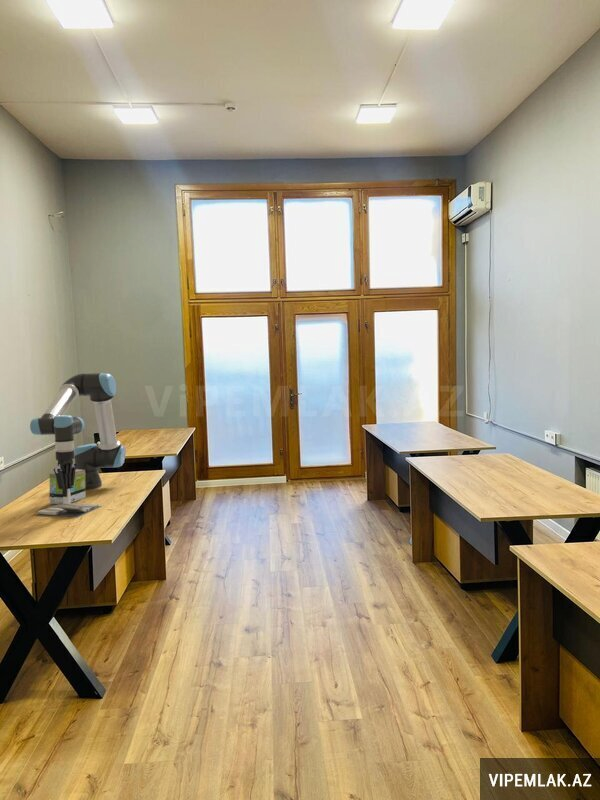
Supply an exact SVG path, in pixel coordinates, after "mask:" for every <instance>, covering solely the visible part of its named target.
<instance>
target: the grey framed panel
mask: <svg viewBox="0 0 600 800" xmlns="http://www.w3.org/2000/svg"><path fill="white" fill-rule="evenodd" d="M102 507H103V506H102V505H98V508H95V509H93V510H91V511H89V512H75V511H66V512H63V513H60V514H57V515H48V514H37V513H36V514H35V516H42V517H59V518H61V517H62V518H74V519H75V518H77V519H78V518H80V517H82V516H85V515H86V514H89V513H92V512H93V511H96V510H98V509H99V508H102Z"/></svg>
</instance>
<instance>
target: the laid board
mask: <svg viewBox="0 0 600 800" xmlns="http://www.w3.org/2000/svg"><path fill="white" fill-rule="evenodd" d="M58 505H77V506H79V507H82V508H84V509H87V511H86V512H89V511H91V510H93V509H95V508H98V506H99V504H95V503H94V504H93V503H74V502H71V503H70V504H63V503H59V504H53V505H52V506H50V507H51V508H58V507H57V506H58ZM98 509H99V508H98ZM93 511H94V510H93ZM91 512H92V511H91ZM89 513H90V512H89Z"/></svg>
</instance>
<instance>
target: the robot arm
mask: <svg viewBox="0 0 600 800" xmlns="http://www.w3.org/2000/svg"><path fill="white" fill-rule="evenodd" d="M116 393H117V383H116V380H115V377H114V376H113V375H112V374H111V373H104V372H101V373H78V374H75V375H74V376H72V377H70V378H68V379H66V380H65V381H64V382H63V383H62V384H61V386H60V387H59V392H58V394H56V396H55V398H54V399H53V400H52V402H51V403H50V404H49V406H48V407H47V409H46V410H45V412H44V413H43V414H42V415H41V417H36V418H35V417H34V418H33V419H31V421H30V425H29V429H30V432H31V434H32V435H36V436H44V435H45V436H47V435H49V436H50V435H54V442H55V445H54V448H55V460H56V461H57V463H56V464H57V467H55V468H53V473H55V474H56V479H57V484H58V488H59V489H62V493H63V504H70V503H72V502H71V488H73V487H72V486H74V480H75V470H76V469H79V470H85V490H92V489H96V488H100V487H102V486H103V481H102V479H101V476H100V473H99V468H113V469H114V468H120V467H122V466H123V464H124V463H125V459H126V453H127V451H126V447H125V445H122V444H121V441H120V440H118V438H117V431H116V425H115V416H114V410H113V404H112V400H113V398H114V396H115V395H116ZM79 397H89V400H90V401H91V402H92V403H93V405H94V412H95V417H96V422H97V423H96V424H97V429H98V435H99V440H100V442H99V443H87V444H83V445H79V446H76V447H75V442H74V441H75V440H74V435H77V434H79V433H81V432H83V430H84V429H85V428H86V427H85V426H86V425H85V424H86V423H85V421H84V419H82V417H79V416H72V415H71V414H69V415H68V414H65V413H66V412H67V411H68V409H69V408H70V406H71V404H72V403H73V401H75V400H77V399H78V398H79Z"/></svg>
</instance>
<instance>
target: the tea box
mask: <svg viewBox="0 0 600 800" xmlns="http://www.w3.org/2000/svg"><path fill="white" fill-rule="evenodd" d="M72 487H73V488H71V503H74V502H77V501H80V500H82V499H85V498H86V489H85V470H79V469H76V470H75V480H74V486H72ZM59 503H63V493H62V489H59V488H58V484H57V479H56V474H55V472H53V473H49V504H53V505H56V504H59Z"/></svg>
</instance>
